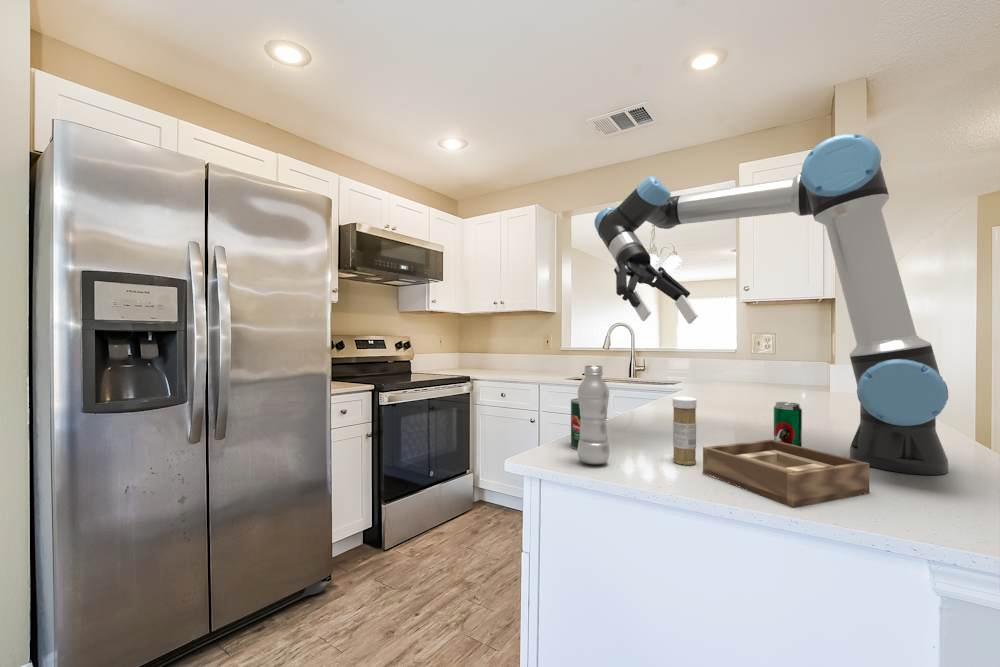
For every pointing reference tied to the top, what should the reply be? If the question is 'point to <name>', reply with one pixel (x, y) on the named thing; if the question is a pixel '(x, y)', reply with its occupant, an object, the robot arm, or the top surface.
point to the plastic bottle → (593, 417)
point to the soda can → (788, 423)
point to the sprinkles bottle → (684, 430)
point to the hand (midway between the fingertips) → (670, 318)
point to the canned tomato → (575, 423)
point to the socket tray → (787, 471)
